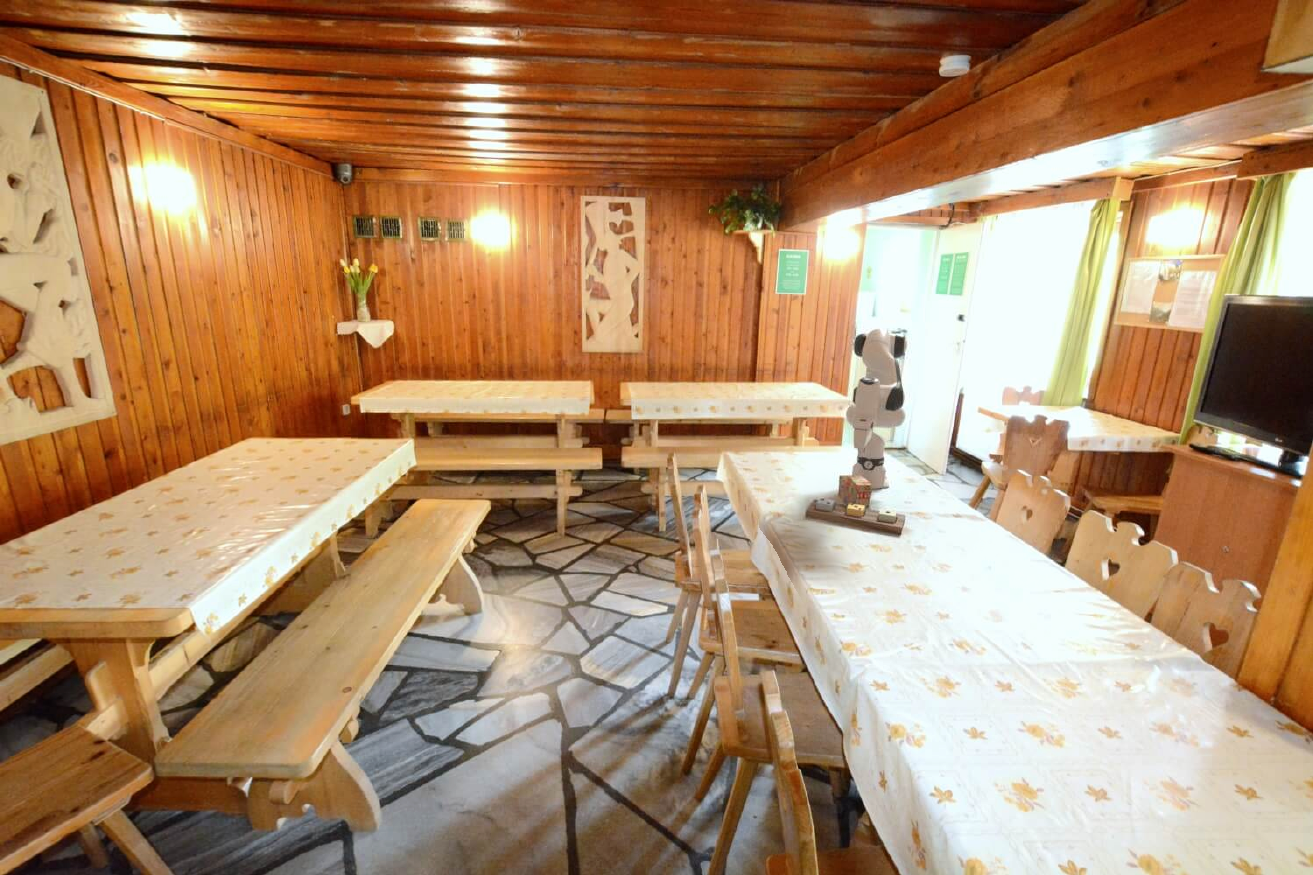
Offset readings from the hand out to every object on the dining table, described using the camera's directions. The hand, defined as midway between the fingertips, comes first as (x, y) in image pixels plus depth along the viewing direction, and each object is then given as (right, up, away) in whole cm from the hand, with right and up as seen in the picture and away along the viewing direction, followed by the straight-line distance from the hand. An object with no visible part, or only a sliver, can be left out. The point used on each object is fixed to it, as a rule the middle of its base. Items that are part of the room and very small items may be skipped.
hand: (861, 454), depth 226 cm
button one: (+10, -26, +1) cm, 28 cm away
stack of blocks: (+5, -22, +25) cm, 34 cm away
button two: (-11, -23, +12) cm, 28 cm away
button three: (0, -25, +6) cm, 26 cm away
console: (0, -26, +7) cm, 27 cm away
